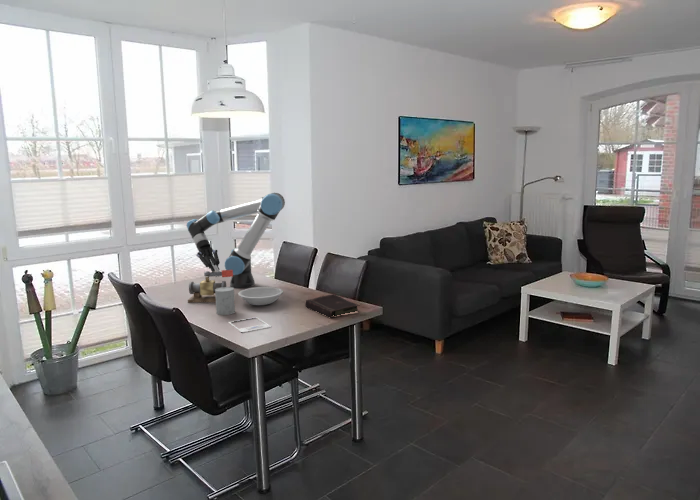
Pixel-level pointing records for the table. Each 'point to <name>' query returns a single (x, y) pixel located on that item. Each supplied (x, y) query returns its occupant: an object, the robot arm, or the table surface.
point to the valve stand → (204, 290)
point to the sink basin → (260, 295)
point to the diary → (331, 305)
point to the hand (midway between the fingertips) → (218, 275)
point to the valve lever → (220, 273)
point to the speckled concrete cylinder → (225, 300)
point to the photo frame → (252, 326)
